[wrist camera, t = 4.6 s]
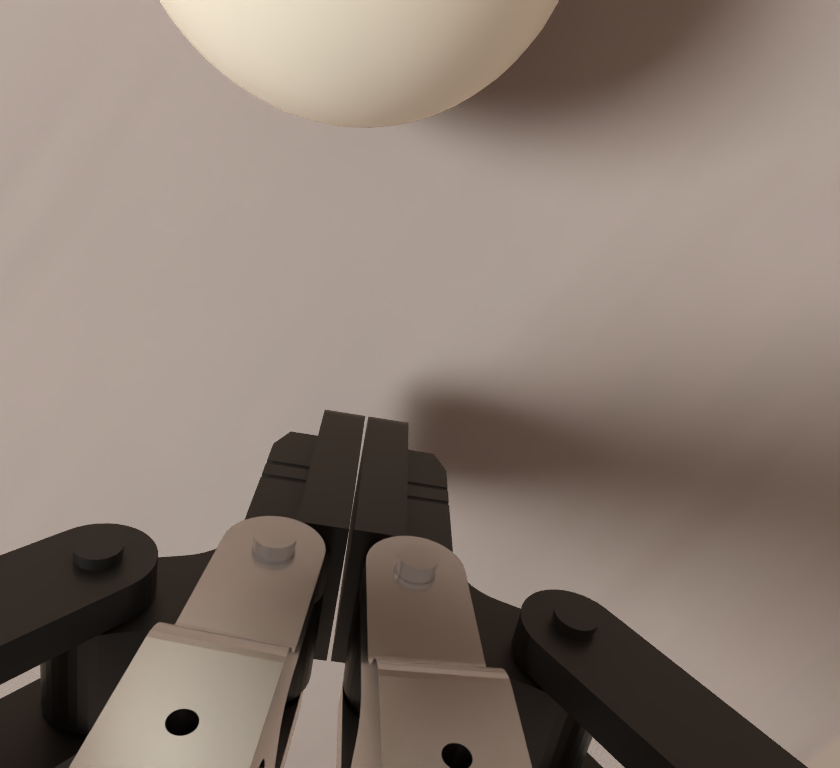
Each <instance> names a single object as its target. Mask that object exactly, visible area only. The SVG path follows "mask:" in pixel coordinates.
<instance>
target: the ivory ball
mask: <svg viewBox="0 0 840 768" xmlns="http://www.w3.org/2000/svg"><path fill="white" fill-rule="evenodd" d="M159 1H160V3H161V4H162V6H163V7H164V9H165V10H166V12H167V13H168V15H169V16H170V18H171V19H172V21H173V22H174V23H175V25H176V26H177V27H178V28H179V29H180V31H181V32H182V33H183V34H184V36H185V37H186V38H187V39H188V40H189V42H190V43H191V44H192V45H193V46H194V47H195V48H196V49H197V50H198V51H199V52H200V53H201V54H202V56H203V57H204V58H205V59H206V60H208V61H209V62H210V63H211V64H212V65H213V66H214V67H216V68H217V69H218V70H219V71H220V72H221V73H222V74H224V75H225V76H226V77H228V78H229V79H230V80H231V81H233V82H234V83H235V84H236V85H238V86H239V87H241V88H242V89H244V90H246V91H248V92H249V93H251V94H253V95H254V96H256V97H258V98H259V99H261V100H263V101H265V102H266V103H268V104H270V105H272V106H273V107H276V108H278V109H281V110H283V111H286V112H288V113H290V114H293V115H296V116H299V117H303V118H306V119H310V120H314V121H317V122H321V123H325V124H330V125H337V126H344V127H363V128H371V127H384V126H393V125H399V124H404V123H409V122H414V121H417V120H420V119H424V118H427V117H430V116H434V115H436V114H438V113H441V112H443V111H445V110H448V109H450V108H452V107H454V106H456V105H458V104H459V103H461V102H463V101H465V100H467V99H468V98H470V97H472V96H473V95H475V94H476V93H478V92H479V91H481V90H482V89H483V88H485V87H486V86H487V85H489V84H490V83H491V82H493V81H494V80H496V79H497V78H498V77H500V76H501V75H502V74H503V73H504V72H505V71H506V70H507V69H508V68H509V67H510V66H511V65H512V64H513V63H514V62H515V61H516V60H517V59H518V58H519V57H520V56H521V55H522V54H523V52H524V51H525V50H526V49H527V48H528V47H529V45H530V44H531V43H532V42H533V40H534V39H535V38H536V37H537V35H538V34H539V33H540V32H541V30H542V29H543V27H544V26H545V24H546V22H547V21H548V19H549V17H550V16H551V14H552V12H553V11H554V9H555V7H556V5H557V4H558V2H559V0H159Z"/></svg>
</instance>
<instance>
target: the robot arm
mask: <svg viewBox="0 0 840 768" xmlns="http://www.w3.org/2000/svg"><path fill="white" fill-rule="evenodd" d="M364 420H365V416H361V415H355V414H349V413H343V412H336V411H330V410H325V412H324V416H323V419H322V423H321V427H320V431H319V435H318V436H315V435H309V434H302V433H296V432H290V433H288V434H287V435H285V436H284V437H282V438H281V439H280V440H278V441H277V442H275V443H274V444H273V446H272V449H271V452H270V454H269V457H268V460H267V463H266V465H265V467H264V470H263V473H262V477H261V478H260V481H259V483H258V486H257V489H256V491H255V494H254V497H253V499H252V502H251V505H250V507H249V510H248V512H247V515H246V518H245V520H244V521H241V522H239V523H237V524H235V525H234V526H232V527H231V528H230V529H229V530H228V531H227V532H226V533H225V535H224V536H223V538H222V540H221V542H220V543H219V545H218V547H217V549H214V550H211V551H208V552H205V553H200V554H195V555H186V556H173V557H158V550H157V546H156V544H155V543H154V541H153V540H152V539H151V538H150V537H149V536H148V535H147V534H145V533H144V532H142V531H140V530H138V529H135V528H132V527H129V526H125V525H119V524H91V525H85V526H80V527H76V528H73V529H70V530H67V531H64V532H62V533H59V534H56V535H54V536H51V537H48V538H46V539H43V540H40V541H38V542H35V543H32V544H30V545H27V546H24V547H22V548H19V549H16V550H14V551H11V552H8V553H6V554H3V555H0V685H1V684H3V683H5V682H6V681H8V680H10V679H12V678H14V677H16V676H18V675H20V674H22V673H24V672H26V671H28V670H30V669H32V668H34V667H36V666H38V665H40V672H41V678H40V679H38V680H36V681H34V682H32V683H30V684H28V685H26V686H24V687H22V688H20V689H18V690H16V691H15V692H13V693H11V694H9V695H7V696H5V697H3V698H1V699H0V768H284V765H285V761H286V758H287V754H288V750H289V747H290V743H291V739H292V736H293V732H294V729H295V725H296V721H297V718H298V714H299V710H300V707H301V701H302V695H303V690H304V689H305V688H306V686H307V684H308V682H309V679H310V675H311V670H312V664H313V659H318V660H325V661H326V660H327V654H328V649H329V643H330V637H331V631H332V625H333V620H334V614H335V608H336V602H337V596H338V591H339V585H340V579H341V573H342V567H343V562H344V556H345V550H346V544H347V551H346V558H345V565H344V572H343V579H342V586H341V593H340V600H339V608H338V615H337V622H336V629H335V636H334V643H333V650H332V657H331V661H335V662H342V663H345V671H344V679H343V685H342V690H341V695H340V701H339V707H338V727H337V766H336V768H603V767H602V766H601V765H600V764H599V763H598V762H597V761H596V760H595V759H594V758H593V757H591V756H590V755H589V754H588V753H587V750H588V747H589V745H590V742H591V739H592V737H593V738H594V739H595V740H596V741H597V742H599V743H600V744H601V745H602V746H603V747H604V748H605V749H606V750H607V751H608V752H609V753H610V754H611V755H612V756H613V757H614V758H615V759H616V760H617V761H618V762H620V763H621V764H622V765H623V766H624V767H625V768H808V767H806V766H805V765H804V764H802V763H801V762H800V761H799V760H797V759H796V758H795V757H794V756H792V755H791V754H790V753H788V752H787V751H786V750H785V749H783V748H782V747H781V746H780V745H778V744H777V743H776V742H774V741H773V740H772V739H771V738H769V737H768V736H767V735H766V734H764V733H763V732H762V731H761V730H759V729H758V728H757V727H755V726H754V725H753V724H752V723H750V722H749V721H748V720H747V719H745V718H744V717H743V716H741V715H740V714H739V713H738V712H736V711H735V710H734V709H733V708H731V707H730V706H729V705H727V704H726V703H725V702H724V701H722V700H721V699H720V698H719V697H717V696H716V695H715V694H713V693H712V692H711V691H710V690H708V689H707V688H706V687H705V686H703V685H702V684H701V683H700V682H698V681H697V680H696V679H694V678H693V677H692V676H691V675H689V674H688V673H687V672H686V671H684V670H683V669H682V668H680V667H679V666H678V665H677V664H675V663H674V662H673V661H672V660H670V659H669V658H668V657H666V656H665V655H664V654H663V653H661V652H660V651H659V650H658V649H656V648H655V647H654V646H652V645H651V644H650V643H649V642H647V641H646V640H645V639H644V638H642V637H641V636H640V635H639V634H637V633H636V632H635V631H633V630H632V629H631V628H630V627H628V626H627V625H626V624H625V623H623V622H622V621H621V620H619V619H618V618H617V617H616V616H614V615H613V614H612V613H611V612H609V611H608V610H607V609H605V608H604V607H603V606H601V605H600V604H598V603H597V602H595V601H593V600H591V599H589V598H587V597H585V596H582V595H579V594H576V593H573V592H569V591H564V590H544V591H539V592H536V593H534V594H532V595H530V596H529V597H528V598H527V599H526V600H525V601H524V603H523V605H522V608H521V609H520V608H517V607H514V606H512V605H509V604H507V603H504V602H501V601H499V600H496V599H494V598H491V597H489V596H487V595H485V594H483V593H482V592H480V591H478V590H477V589H476V588H474V587H473V586H471V585H470V584H469V583H468V581H467V577H466V572H465V569H464V566H463V564H462V562H461V561H460V559H459V558H458V557H457V556H456V555H455V554H454V553H453V549H452V537H451V525H450V512H449V505H448V502H449V500H448V491H447V476H446V470H445V469H444V467H443V466H442V465H441V463H440V462H439V461H438V460H437V458H436V457H435V456H434V454H430V453H424V452H417V451H411V450H408V423H405V422H399V421H393V420H387V419H381V418H374V417H368V422H367V428H366V433H365V439H364V445H363V451H362V457H361V462H360V468H359V474H358V480H357V485H356V491H355V484H356V477H357V470H358V463H359V456H360V449H361V441H362V434H363V427H364ZM354 491H355V497H354ZM353 498H354V503H353ZM352 505H353V509H352ZM351 512H352V516H351ZM350 519H351V522H350ZM349 526H350V529H349ZM348 533H349V536H348ZM347 538H348V543H347Z"/></svg>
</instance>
